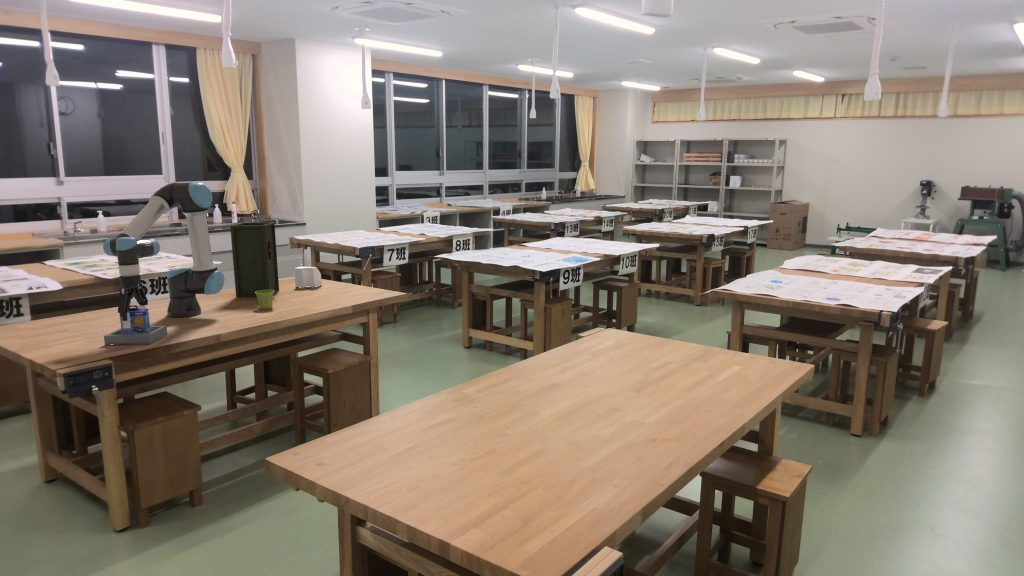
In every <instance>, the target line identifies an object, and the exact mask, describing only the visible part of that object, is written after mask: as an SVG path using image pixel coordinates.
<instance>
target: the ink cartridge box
mask: <svg viewBox="0 0 1024 576" xmlns="http://www.w3.org/2000/svg"><path fill="white" fill-rule="evenodd" d="M128 312H129V315H130V324H131V328H123V322H122V313H119V319H120V328H121V330H122V335H132V334H148V333H150V332H151V330H150V326H151V323H150V321H151V320H150V313H149V308H146V309H138V305H137V304H135V305H130V306H129V309H128Z"/></svg>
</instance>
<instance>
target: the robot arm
mask: <svg viewBox="0 0 1024 576" xmlns="http://www.w3.org/2000/svg"><path fill="white" fill-rule="evenodd" d="M212 202H213V194H212V192H211V189H210V188H209V186H207V185H206V184H205V183H202V182H193V181H192V182H191V181H190V182H187V181H186V182H177V181H176V182H171V183H167V184H165V185H164V186H162V187H160V188H159V189H158V190H156V191H155V192H154V193H153V194H152V195H151V196H150V197H149V199H148V203H147V204H146V205H145V206H144V207H143V208H142V209H141V210H140V211H139V212H138V213H137V214H136V215H135V217H134V218H132V220H130V221H129V223H128V224H127V225H126V226H125V227H124V229H122V230H121V231H120V233H119V234H118V235H117V236H116V237H114V238H108V239H106V240H105V241H104V242H103V246H102V249H103V250H102V251H103V252H104V253H105V254H106V255H107V256H108V257H109V256H110V257H115V258H117V265H118V267H117V269H118V273H119V284H120V285H123V287H124V288H119V299H118V306H117V313H118V314H120V313H122V322H123V328H131V324H130V315H129V312H128V309H129V306H131V302H132V299H135V300H136V302H137V304H138V305H137V307H138V309H147V307H146V306H148V305H149V300H148V297H147V295H146V293H145V290H144V288H143V287H144V285H143V283H142V279H141V278H142V277H141V274H140V273H141V269H140V268H141V267H140V261H139V260H140V259H143V258H148V257H153V256H156V255H158V254H159V253H160V251H161V245H160V243H159V242H158V240H157V239H155V238H145V239H142V237H143V236H144V235H145V234H146V233H147V232H148V231H149V230H150V229H151V227H152V226H153V225H154V224H155V223H157V221H159V219H160V218H161V216H162V215H164V214H167V213H168V212H169V211H170V210H171V209H175V208H180V211H181V214H183V215H185V220H186V226H187V230H188V231H187V232H188V238H189V243H190V250H191V256H192V263H193V265H192V266H185V267H179V268H173V269H170V270H168V271H167V285H168V293H169V294H168V295H169V302H168V306H167V310H166V312H167V313H166V314H167V315H168V316H167V317H170V318H186V317H195V316H197V315H201V313H202V307H201V305H200V303H199V302H198V299H197V295H206V296H209V295H217V294H218V293H220V292H221V291H222V290H223V287H224V285H225V275H224V273H223V272H222V271H220V270H218V266H217V264H216V263H215V262H214V261H213V254H212V249H211V242H210V241H211V240H210V233H209V227H208V219H207V213H208V212H209V207H211V206H212Z"/></svg>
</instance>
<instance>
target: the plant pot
mask: <svg viewBox="0 0 1024 576" xmlns="http://www.w3.org/2000/svg"><path fill="white" fill-rule="evenodd" d="M255 293H256V296H257V297H256V299H257V303H258V306H259V309H261V310H265V309H267V310H268V309H272V308H273V300H274V295H275V294H274V290H260V291H256V292H255ZM273 294H274V295H273Z"/></svg>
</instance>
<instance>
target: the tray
mask: <svg viewBox="0 0 1024 576" xmlns="http://www.w3.org/2000/svg"><path fill="white" fill-rule="evenodd" d="M150 330H151V332H150V333H148V334H132V335H122V330H121V327H120V328H117V329H116V330H113V331H112V332H109V333H107V334H104V335H103V340H104V341H103V342H104V346H111V345H110V344H114V345H113V346H136V345H137V346H140V345H141V346H143V345H149V344H150V345H152V344H153V343H156V342H157V341H159V340H161V339H162V338H164V337H167V336H168V327H167V325H150ZM121 344H122V345H121Z"/></svg>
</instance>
